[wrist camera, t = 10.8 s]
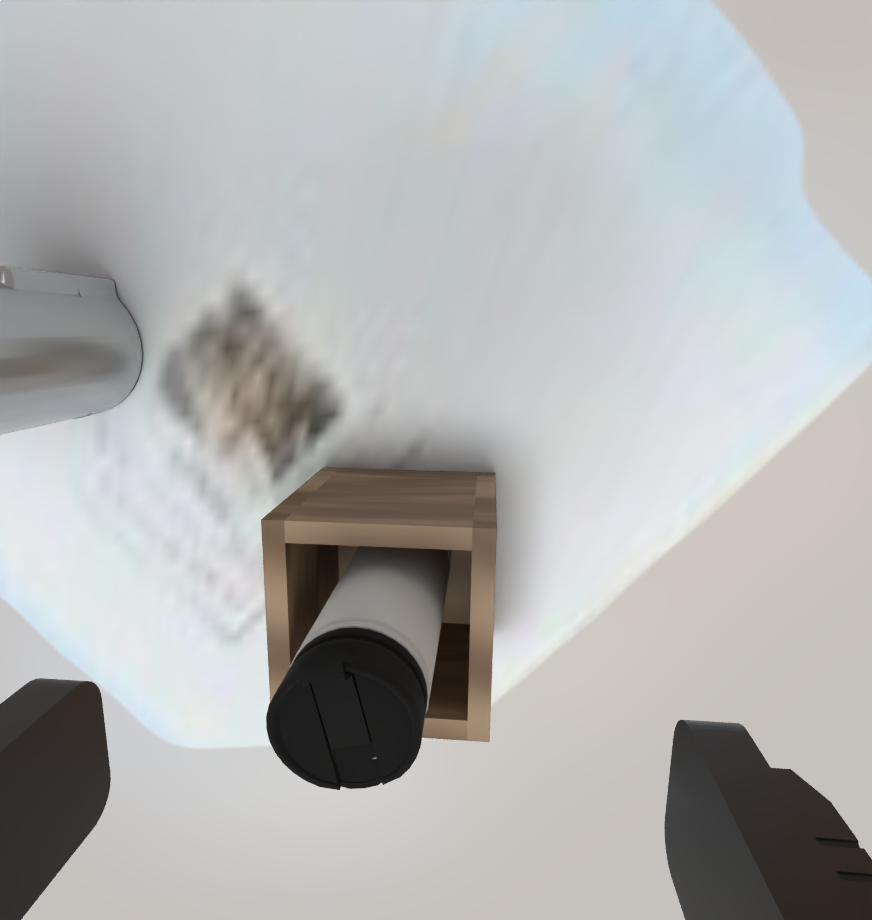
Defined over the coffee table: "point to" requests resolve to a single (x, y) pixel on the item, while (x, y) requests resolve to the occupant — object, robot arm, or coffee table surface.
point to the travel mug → (364, 672)
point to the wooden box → (401, 526)
